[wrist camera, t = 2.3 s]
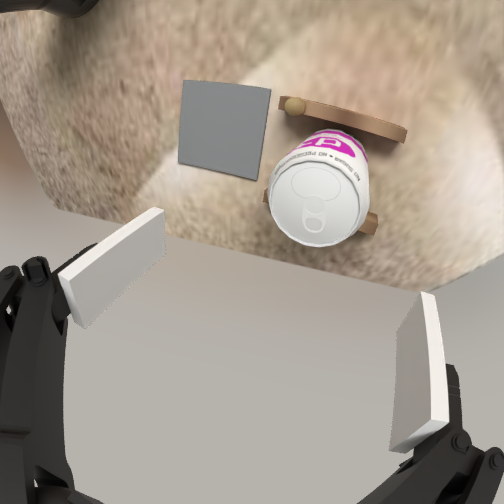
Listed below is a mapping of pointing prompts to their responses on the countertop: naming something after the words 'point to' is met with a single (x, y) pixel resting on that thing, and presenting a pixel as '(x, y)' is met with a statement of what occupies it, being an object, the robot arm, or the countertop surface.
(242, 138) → the mat
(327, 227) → the supplement can
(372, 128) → the cradle
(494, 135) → the countertop surface
